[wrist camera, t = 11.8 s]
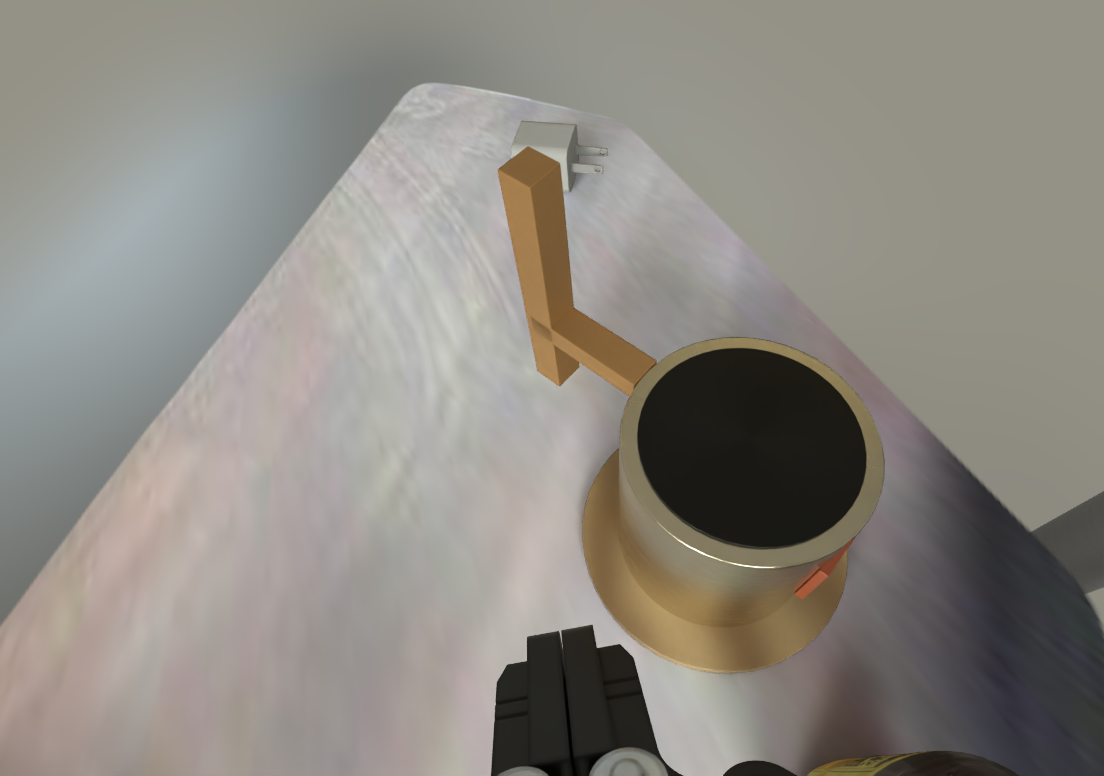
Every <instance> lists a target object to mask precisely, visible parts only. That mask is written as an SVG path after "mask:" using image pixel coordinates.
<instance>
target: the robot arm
mask: <svg viewBox="0 0 1104 776" xmlns="http://www.w3.org/2000/svg"><path fill="white" fill-rule="evenodd" d="M561 633H562V643H561V638H560V633H559V631H556V632H551V633H545V634H540V635H534V636H529V637H527V661H525V662H520V663H514V664H509V665H507V666H506V668H505V669H504V671H503V673H502V675H501V676H500V678H499V680H498V682H497V688H496V705H495V721H494V737H493V753H492V770H491V776H683V775H681V774H679V773H677V772H676V771H674V770H673V769H672V768H670V767H669V766H668V765H667V764H666V763H665V761H664V760H663V759H662V757H661V755H660V753H659V751H658V748H657V744H656V740H655V737H654V733H653V729H652V725H651V722H650V718H649V714H648V710H647V707H646V703H645V699H644V696H643V692H642V688H641V684H640V681H639V677H638V673H637V669H636V666H635V662H634V658H633V657H632V656H631V655H630V654H629V653H628V652H627V651H626V650H625V649H624V648H623V647H622V646H621V645H620V644H618V645H613V646H607V647H602V648H597V647H596V641H595V636H594V630H593V625H588V626H583V627H577V628H572V629H566V630H561ZM562 644H563V648H562ZM723 776H797V775H795V774H793V773H791V772H790V771H788V770H786V769H785V768H783V767H781V766H779V765H776V764H773V763H770V762H765V761H746V762H742V763H739V764H737V765H735V766H733V767H731V768H730V769H729V770H728V771H727V772H725V774H724V775H723Z"/></svg>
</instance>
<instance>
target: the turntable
mask: <svg viewBox="0 0 1104 776" xmlns="http://www.w3.org/2000/svg"><path fill="white" fill-rule="evenodd" d="M582 538H583V547H584V555H585V560H586V564H587V568H588V572H589V575H590V578H591V580H592V583H593V585H594V588H595V590H596V592H597V594H598V596H599V597H600V599H601V601H602V603H603V605H604V606H605V608H606V609H607V610H608V612H609V613H610V614H611V616H612V617H613V618H614V620H615V621H616V622H617V623H618V624H619V625H620V626H621V627H622V628H623V629H624V631H625V632H626V633H627V634H628V635H630V636H631V637H632V638H633V639H635V640H636V641H637V642H638V643H639V644H641V645H642V646H643V647H645V648H647V649H648V650H650V651H651V652H653V653H654V654H656V655H658V656H660V657H662V658H664V659H666V660H668V661H670V662H673V663H675V664H677V665H681V666H684V667H687V668H690V669H693V670H699V671H704V672H710V673H729V674H733V673H742V672H751V671H754V670H758V669H762V668H766V667H769V666H771V665H774V664H776V663H778V662H781V661H783V660H785V659H787V658H788V657H790V656H792V655H793V654H795V653H796V652H798V651H800V650H801V649H803V648H804V647H805V646H806V645H807V644H809V643H810V642H811V641H812V640H813V639H814V638H815V637H817V635H818V634H819V633H820V632H821V631H822V629H823V628H824V627H825V626H826V624H827V623H828V622H829V620H830V618H831V617H832V615H833V613H834V611H835V610H836V608H837V605H838V603H839V600H840V598H841V595H842V593H843V589H844V584H845V580H846V575H847V561H848V555H847V550H846V552H845V553H844V555H843V556H842V558H841V559H840V561H839V562H838V564H837V565H836V567H835V568H834V570H833V571H832V573H831V574H830V576H829V577H828V578H827V579H825V580H824V581H823V582H822V583H821V584H820V585H819V586H818V587H816V588H815V589H814V590H813V591H812V592H811V593H810V594H808V595H807V596H806V597H805V598H804V599H803V600H802V599H800V598H799V597H798V596H796V595H795V594H794V595H793V596H792V597H791V598H790V599H789V600H788V601H787V602H786V603H785V604H784V605H782V606H781V607H780V608H779V609H778V610H777V611H775V612H774V613H772V614H771V615H769V616H768V617H765V618H763V619H761V620H759V621H757V622H754V623H751V624H747V625H744V626H737V627H718V628H717V627H709V626H703V625H699V624H695V623H691V622H689V621H686V620H684V619H681V618H679V617H677V616H675V615H673V614H671V613H670V612H668V611H666V610H665V609H663V608H662V607H661V606H659V605H658V604H657V603H655V602H654V601H653V600H652V599H651V598H650V597H649V596H648V595H647V594H646V593H645V592H644V591H643V590H642V588H641V587H640V586H639V585H638V584H637V582H636V581H635V579H634V577H633V576H632V574H631V573H630V571H629V569H628V566H627V564H626V562H625V560H624V556H623V553H622V550H621V545H620V540H619V449H618V450H617V451H616V452H614V453H613V454H612V456H611V457H610V458H609V459H608V460H607V462H606V463H605V464H604V465H603V467H602V468H601V470H600V472H599V473H598V475H597V476H596V478H595V480H594V482H593V485H592V487H591V489H590V491H589V494H588V498H587V501H586V505H585V510H584V516H583V533H582Z"/></svg>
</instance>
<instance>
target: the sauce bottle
mask: <svg viewBox="0 0 1104 776" xmlns="http://www.w3.org/2000/svg"><path fill="white" fill-rule="evenodd" d="M807 776H1019V775H1017V774H1016V773H1015V772H1013V771H1012V770H1010V769H1008V768H1006V767H1004V766H1002V765H1000V764H998V763H995V762H993V761H990V760H988V759H985V758H983V757H979V756H976V755H972V754H967V753H962V752H953V751H926V752H916V753H909V754H900V755H887V756H873V757H866V758H855V759H844V760H837V761H832V762H829V763H826V764H824V765H821V766H819V767H817V768H816V769H814V770H813V771H811V772H810V773H809V774H808V775H807Z"/></svg>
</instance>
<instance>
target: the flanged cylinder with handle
mask: <svg viewBox="0 0 1104 776" xmlns="http://www.w3.org/2000/svg"><path fill="white" fill-rule="evenodd" d="M498 175H499V180H500V185H501V190H502V195H503V200H504V205H505V210H506V215H507V220H508V225H509V230H510V235H511V240H512V245H513V250H514V255H515V260H516V265H517V270H518V275H519V280H520V285H521V290H522V295H523V300H524V305H525V310H526V316H527V321H528V326H529V331H530V336H531V341H532V346H533V351H534V356H535V361H536V366H537V371H538V372H540V373H541V374H543V375H544V376H545V377H547V378H548V379H550V380H551V381H552V382H554V383H555V384H557V385H558V386H561V385H562V384H563V383H564V382H565V381H566V380H567V379H568V378H569V377H570V376H571V375H572V374H573V373H574V372H575V371H576V370H577V369H578V368H579V362H580V363H581V364H583V365H584V366H586V367H587V368H589V369H590V370H592V371H593V372H594V373H596V374H597V375H599V376H600V377H602V378H603V379H605V380H606V381H608V382H609V383H610V384H612V385H613V386H615V387H616V388H618V389H619V390H621V391H622V392H624V393H625V394H627V395H628V396H629V399H628V401H627V404H626V406H625V409H624V412H623V416H622V420H621V427H620V437H619V540H620V545H621V550H622V553H623V556H624V560H625V562H626V564H627V566H628V569H629V571H630V573H631V574H632V576H633V577H634V579H635V581H636V582H637V584H638V585H639V586H640V587H641V588H642V590H643V591H644V592H645V593H646V594H647V595H648V596H649V597H650V598H651V599H652V600H653V601H654V602H655V603H657V604H658V605H659V606H661V607H662V608H663V609H665V610H666V611H668V612H670V613H671V614H673V615H675V616H677V617H679V618H681V619H684V620H686V621H689V622H691V623H695V624H699V625H703V626H709V627H717V628H718V627H737V626H744V625H747V624H751V623H754V622H757V621H759V620H761V619H763V618H765V617H768V616H769V615H771V614H772V613H774V612H775V611H777V610H778V609H779V608H780V607H781V606H782V605H784V604H785V603H786V602H787V601H788V600H789V599H790V598H791V597H792V596H793V595H794V594H795V595H796V596H798V597H799V598H800V599H802V600H803V599H804V598H805V597H806V596H807V595H808V594H810V593H811V592H812V591H813V590H814V589H815V588H816V587H818V586H819V585H820V584H821V583H822V582H823V581H824V580H825V579H827V578H828V577H829V576H830V574H831V573H832V571H833V570H834V568H835V567H836V565H837V564H838V562H839V561H840V559H841V558H842V556H843V555H844V553H845V552H846V550H847V549H848V547H849V546H850V544H851V543H852V541H853V540H854V538H855V537H856V535H857V534H858V533H859V532H860V531H861V529H862V528H863V527H864V526H865V524H866V523H867V522H868V521H869V519H870V517H871V515H872V514H873V512H874V510H875V508H876V506H877V503H878V501H879V498H880V495H881V492H882V487H883V481H884V454H883V447H882V442H881V439H880V435H879V432H878V429H877V427H876V424H875V422H874V420H873V418H872V416H871V414H870V412H869V410H868V409H867V407H866V406H865V404H864V402H863V401H862V399H861V398H860V397H859V396H858V394H857V393H856V392H855V391H854V389H853V388H852V387H851V386H850V385H849V384H848V383H847V382H846V381H845V380H844V379H843V378H842V377H841V376H839V375H838V374H837V373H836V372H834V371H833V370H832V369H831V368H829V367H828V366H826V365H825V364H823V363H822V362H820V361H819V360H817V359H815V358H814V357H812V356H810V355H808V354H806V353H804V352H802V351H800V350H797V349H794V348H792V347H789V346H786V345H783V344H780V343H776V342H772V341H768V340H762V339H756V338H744V337H729V338H718V339H711V340H706V341H702V342H698V343H694V344H692V345H689V346H687V347H684V348H681V349H679V350H677V351H675V352H674V353H672V354H670V355H668V356H667V357H665V358H664V359H662V360H661V361H659V362H658V363H657V364H656V360H655V359H653V358H652V357H650V356H649V355H647V354H645V353H644V352H642V351H641V350H639V349H638V348H636V347H635V346H633V345H631V344H630V343H628V342H627V341H625V340H624V339H622V338H620V337H619V336H617V335H616V334H614V333H613V332H611V331H610V330H608V329H606V328H605V327H603V326H602V325H600V324H599V323H597V322H595V321H594V320H592V319H591V318H589V317H588V316H586V315H585V314H583V313H581V312H580V311H578V310H577V309H575V308H574V305H573V294H572V284H571V273H570V262H569V251H568V240H567V230H566V219H565V208H564V197H563V186H562V176H561V165H560V163H559V162H558V161H556V160H554V159H552V158H550V157H548V156H546V155H544V154H542V153H540V152H538V151H536V150H534V149H533V148H531V147H529V146H527V147H526V148H525V149H523V150H522V151H521V152H520V153H518V154H517V155H516V156H514V157H513V158H512V159H511V160H509V161H508V162H507V163H505V164H504V165H503V166H502V167H500V168H499V169H498Z"/></svg>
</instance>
